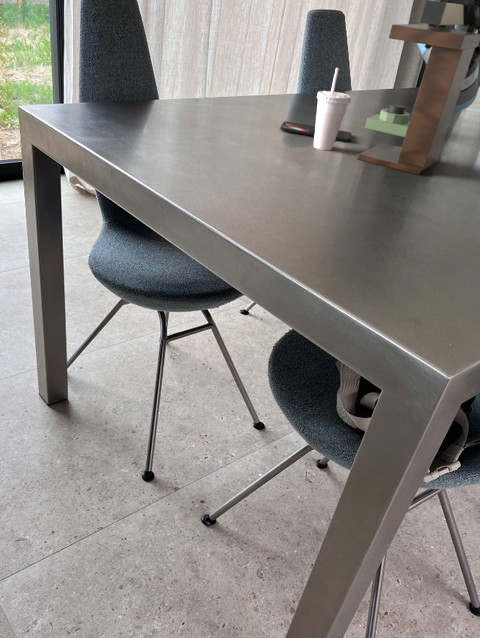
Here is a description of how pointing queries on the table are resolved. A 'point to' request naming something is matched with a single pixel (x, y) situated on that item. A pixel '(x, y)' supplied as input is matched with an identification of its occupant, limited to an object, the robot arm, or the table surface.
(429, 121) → the shelf
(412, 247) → the table surface
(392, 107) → the button
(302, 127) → the smartphone
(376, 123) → the switch box
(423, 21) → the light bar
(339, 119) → the smoothie
